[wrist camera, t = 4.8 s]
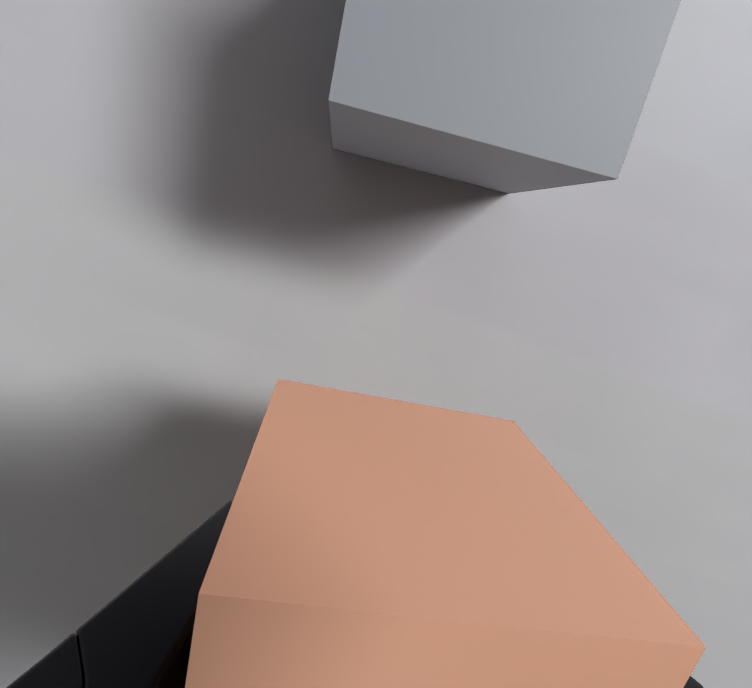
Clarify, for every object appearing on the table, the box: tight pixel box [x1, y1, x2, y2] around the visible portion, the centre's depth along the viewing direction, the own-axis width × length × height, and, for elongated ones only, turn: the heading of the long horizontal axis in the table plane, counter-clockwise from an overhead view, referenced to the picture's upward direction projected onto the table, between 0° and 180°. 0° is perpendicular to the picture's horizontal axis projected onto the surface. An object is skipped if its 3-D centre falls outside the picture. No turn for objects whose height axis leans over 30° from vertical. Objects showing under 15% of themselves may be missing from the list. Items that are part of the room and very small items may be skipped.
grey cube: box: [328, 0, 681, 194], centre depth 9 cm, size 5×5×5 cm
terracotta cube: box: [185, 379, 706, 688], centre depth 7 cm, size 5×5×5 cm
